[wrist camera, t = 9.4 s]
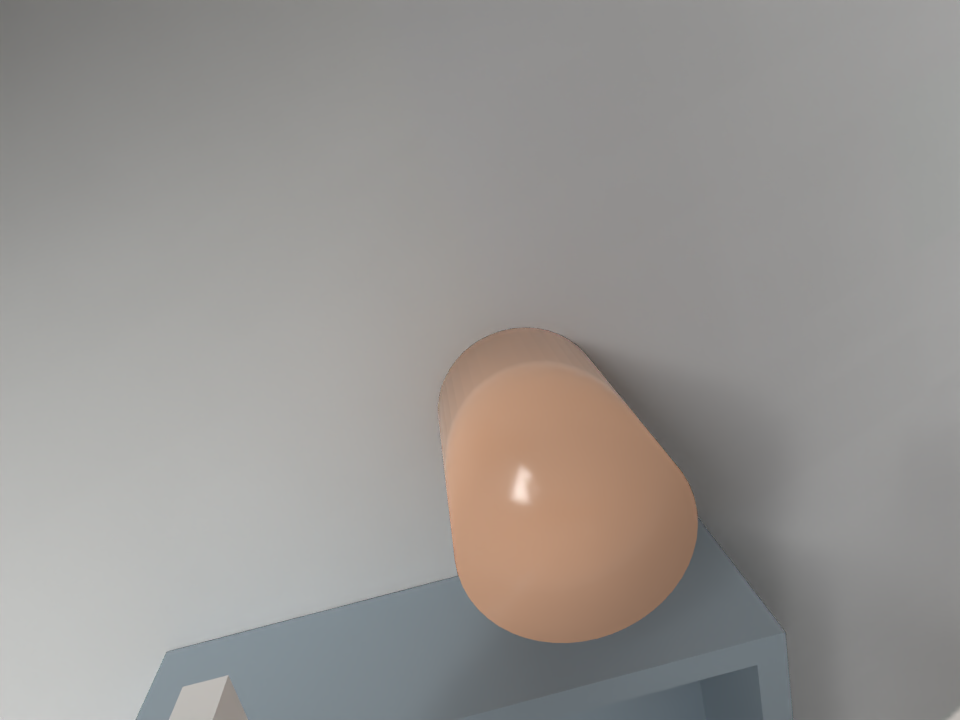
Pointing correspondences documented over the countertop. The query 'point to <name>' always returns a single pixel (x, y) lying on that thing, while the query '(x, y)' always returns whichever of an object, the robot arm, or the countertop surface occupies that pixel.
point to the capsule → (557, 492)
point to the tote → (503, 660)
